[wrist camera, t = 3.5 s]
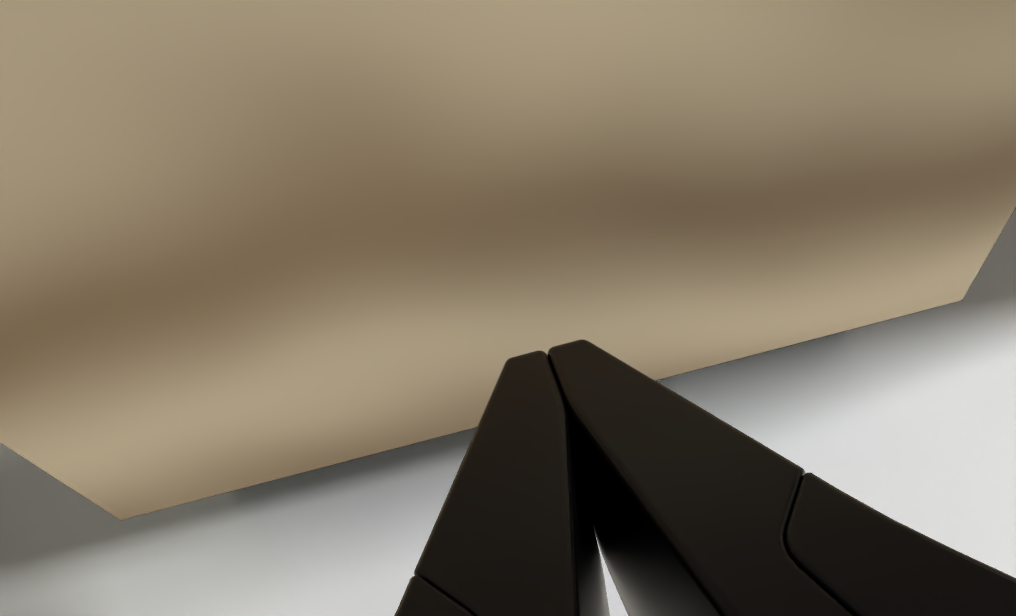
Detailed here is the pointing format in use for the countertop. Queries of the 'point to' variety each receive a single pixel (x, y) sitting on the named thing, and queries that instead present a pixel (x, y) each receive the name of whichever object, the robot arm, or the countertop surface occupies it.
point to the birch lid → (456, 208)
